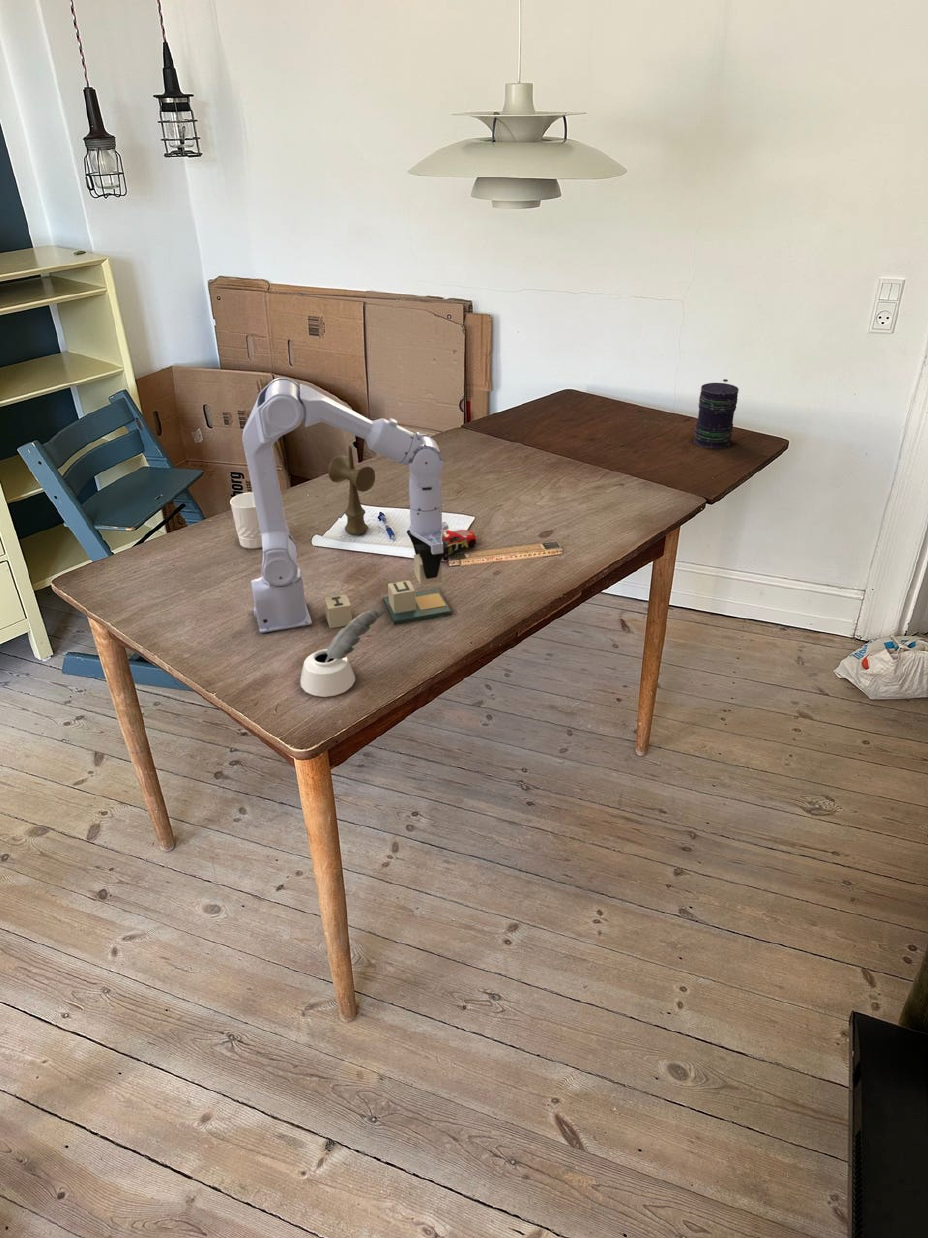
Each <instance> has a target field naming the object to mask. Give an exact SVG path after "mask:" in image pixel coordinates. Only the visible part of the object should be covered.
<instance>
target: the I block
mask: <svg viewBox="0 0 928 1238" xmlns="http://www.w3.org/2000/svg"><path fill="white" fill-rule="evenodd" d="M323 601H324V610H325V619H326V621H327V625H328V626H329V629H335V628H341V627H345V626H346V625H347V624H348V623H349V622H350V621H351V620H353V615H352V605H351V603H350V600H349V598H348V595H347V594H341V595H340V594H339V595H334V596H329V597H324V598H323Z"/></svg>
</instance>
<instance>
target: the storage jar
mask: <svg viewBox="0 0 928 1238" xmlns="http://www.w3.org/2000/svg"><path fill="white" fill-rule="evenodd" d="M728 381H729V379H728V378H727V379H726V378H724V379H723V380H722V382H709V383H704V384H702V385H701V387H700V392H699V393H700V394H699V399H698V401H699V402H698V415H697V416H698V417H697V420H696V423H695V427H694V438H693V442H694V444H696V445H697V446H699V447H702V448H707V449H723V448H727V447H729V446H730V445H731V439H732V436H733V431H734V430H733V428H734V423H733V422H734V416H735V411H736V410H737V405H738V396H739V390H740V389H739V387H738V386H736V385H734V384H731V383H727V382H728Z"/></svg>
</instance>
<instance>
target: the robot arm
mask: <svg viewBox="0 0 928 1238" xmlns="http://www.w3.org/2000/svg"><path fill="white" fill-rule="evenodd" d="M303 421H304V427H305V428H308V427H311V426H315V425H316V424H319V423H324V424H326V425H329V426H332V427H334V428H336V429H338V430H341V431H343V432H346V433H349V434H351V435H353V436H355V437H358V438H361V439H363V440H364V441H365V443H366V445H367V448H368V450H370V451H372V452H374V453H376V454H378V455H381V456H382V457H385V458H386V459H389V460H391V461H393V462H396V463H398V464H399V465H402V466H407V467H408V469H409V471H408V472H409V480H408V498H409V519H410V524H409V529H408V530H406V534H407V535H408V537H409V539H410V541H411V544H412V546H413V550H414V555H417V554H420V557H421V560H422V564H423V570H424V574H425V576H426V578H427V579H430V578H436V577H437V576H438V572H439V568H440V563H441V562H442V560H443V559H444V558H443V556H444V554H445V552H446V551H447V548H448V546H447V544H446V542H442V537H443V531H445V530H449V524H448V523H447V522H446V521H443V511H442V510H443V508H442V507H443V505H442V503H443V501H442V499H443V497H442V479H441V472H442V470H443V468H444V463H445V462H444V460H443V457H442V454H441V451H440V448H439V446H438V444H437V442H436V441H435V439H433V438H432V437H431V436H429V434H426V433H420V432H419V431H416V432H415V433H414V432H412V431H410V430H408V429H406V428H404V427H403V426H400V425H398V420H396V419H394V418H392V417H391V418H389V420H388V419H386V418H384V417H382V418H381V417H380V418H379V419H374V420H371V419H369V418H368V417H365V416H364V415H362V414H360V413H358V412H356V411H354V410H352V409H351V408H349V407H347V406H345V405H343V404H342V403H339V402H337V401H336V400H334V399H332V398H330V397H328V396H326V395H325V394H323V393H320V392H319V391H318V390H316V389H314V388H312V387H311V386H309V385H307V384H303V383H300V384H298V383H297V382H296V381H295V380H293V379H292V378H288V377H278V378H275V379H272V381H270V382H269V383H268V384H267V385H266V386H264V388H262V389H261V391H260V392H259V393H258V396H257V398H256V401H255V403H254V406H253V408H252V409H251V412H250V414H249V417H248V418H247V421H246V423H245V425H244V427H243V430H242V439H241V441H242V446H243V451H244V455H245V460H246V465H247V471H248V476H249V479H250V484H251V490H252V492H253V495H254V500H255V505H256V510H257V515H258V520H259V525H260V530H261V537H262V547H261V548H262V562H261V567H260V573H261V576H259V577H258V578H257V577H256V578H254V579H251V580H250V586H251V591H252V599H253V604H254V607H253V614H254V618H256V622H257V625H258V630H259V632H260V634H265V633H271V632H276V631H282V630H288V629H294V628H299V627H300V628H301V627H305V626H311V625H312V624H313V621H312V619H311V615H310V612H309V609H308V606H307V603H306V598H305V589H304V580H303V571H302V569H301V568H300V567H299V566H298V563H297V562H298V556H297V555H298V549H299V548H298V544H297V542H296V540H295V539H294V537H293V536H292V534H291V532H290V527H289V525H288V523H287V518H286V512H285V507H284V501H283V496H282V491H281V486H280V485H281V484H280V479H279V475H278V469H277V463H276V458H275V453H274V452H275V451H274V448H273V445H274V444H275V443H276V442H277V441H278V440H279V438H281V437H283V436H284V435H287V434H288V433H290V432H293V431H294V430H295V429H297V428H298V427H299V426H300V425H301V423H302V422H303ZM442 558H443V559H442Z"/></svg>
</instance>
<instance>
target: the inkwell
mask: <svg viewBox="0 0 928 1238" xmlns="http://www.w3.org/2000/svg"><path fill="white" fill-rule="evenodd" d="M386 613H389V611H388V609H386V608H375V609H371V610H368V611H364V612H362V613H360V614H359V615H357V616H356V617H354V618H352V620H351V621H350V622H349V623H348V624H347V625H346V626H344V628H341V629H340V630H339V631H338V632H337V634H336V635H335V636H333V638H332V640H331V643H330V644H329V645H328V646H327V648H324V649H319V650H317V651H314V652H312V653H311V654H309V655H308V656H307V657H306V658H305V660H304V661H303V665H302V669H301V674H300V679H299V681H300V687H301V688H302V690H303V691H304V692H305V693H307V694H309V695H311V696H314V697H321V698H327V697H335V696H338V695H341V694H343V693H346V692H347V691H348V690H349V689H351V688H352V687H353V686H354V683H355V681H356V676H355V675H356V674H355V672H354V670H353V666H352V665H351V662H350V660H349V658H348V654H350V653H351V652H353V651H354V650H355V647H354V646H356V645H357V644H358V643H359V642H360V640H361V636H363V635H364V634H365V635H366V634H367V632H368V631H369V630H371V625H374V624H375V623H376V622H377V620H378V619H379V618H381V617H382V616H383V615H385V614H386Z"/></svg>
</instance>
